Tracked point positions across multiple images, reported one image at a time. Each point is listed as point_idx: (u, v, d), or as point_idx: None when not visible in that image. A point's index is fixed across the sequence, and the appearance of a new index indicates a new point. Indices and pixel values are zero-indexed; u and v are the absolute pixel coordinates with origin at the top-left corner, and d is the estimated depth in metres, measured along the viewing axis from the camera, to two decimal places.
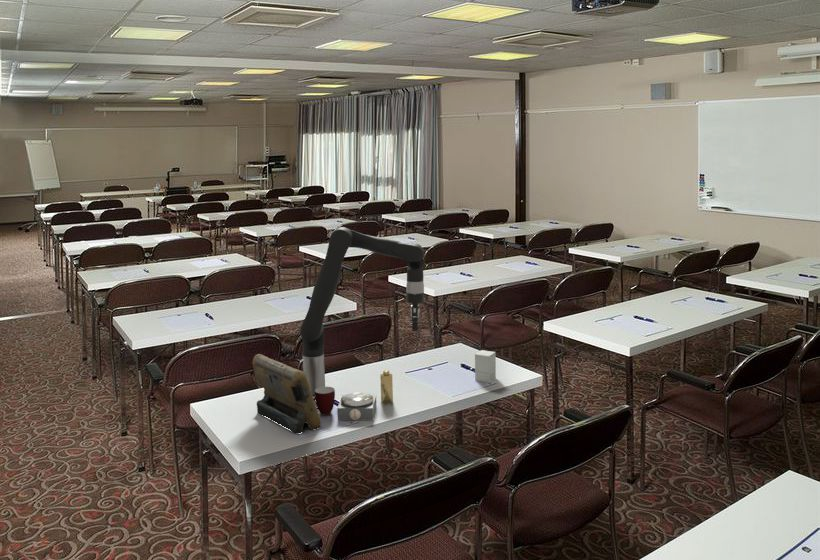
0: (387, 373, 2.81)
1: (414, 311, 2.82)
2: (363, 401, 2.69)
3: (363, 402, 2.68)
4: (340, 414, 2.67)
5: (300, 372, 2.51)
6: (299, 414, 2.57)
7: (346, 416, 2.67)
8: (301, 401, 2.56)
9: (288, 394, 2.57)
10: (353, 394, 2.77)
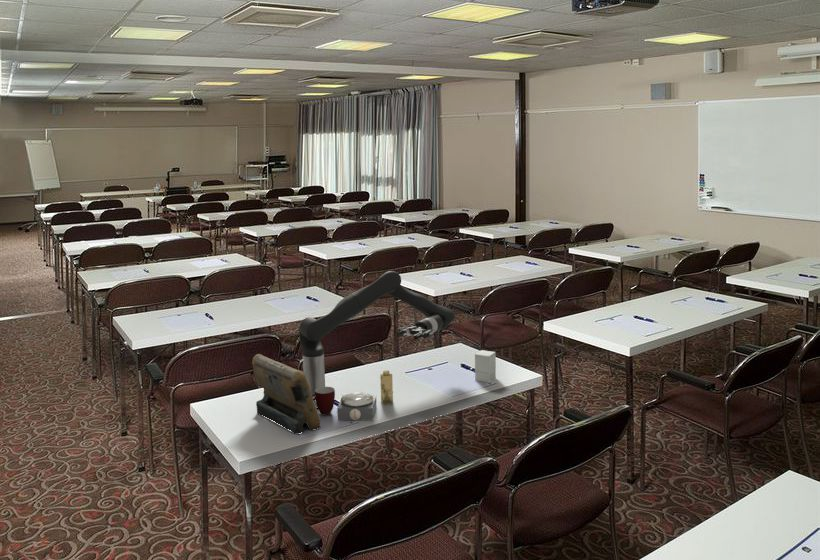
0: (387, 373, 2.81)
1: (430, 333, 2.92)
2: (363, 401, 2.69)
3: (363, 402, 2.68)
4: (340, 414, 2.67)
5: (300, 372, 2.51)
6: (299, 414, 2.57)
7: (346, 416, 2.67)
8: (300, 401, 2.56)
9: (288, 394, 2.57)
10: (353, 394, 2.77)
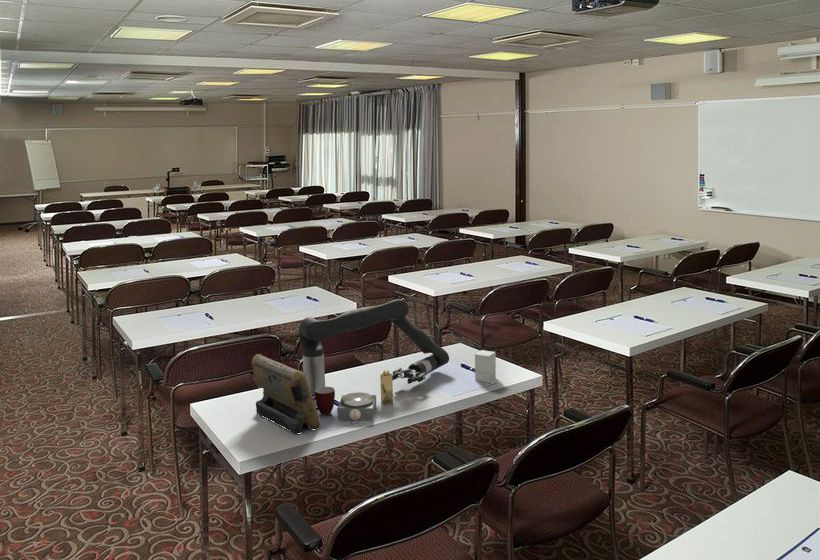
0: (387, 373, 2.81)
1: (424, 376, 2.96)
2: (363, 401, 2.69)
3: (363, 402, 2.68)
4: (340, 414, 2.67)
5: (299, 372, 2.51)
6: (298, 414, 2.57)
7: (346, 416, 2.67)
8: (300, 401, 2.56)
9: (287, 394, 2.57)
10: (353, 394, 2.77)
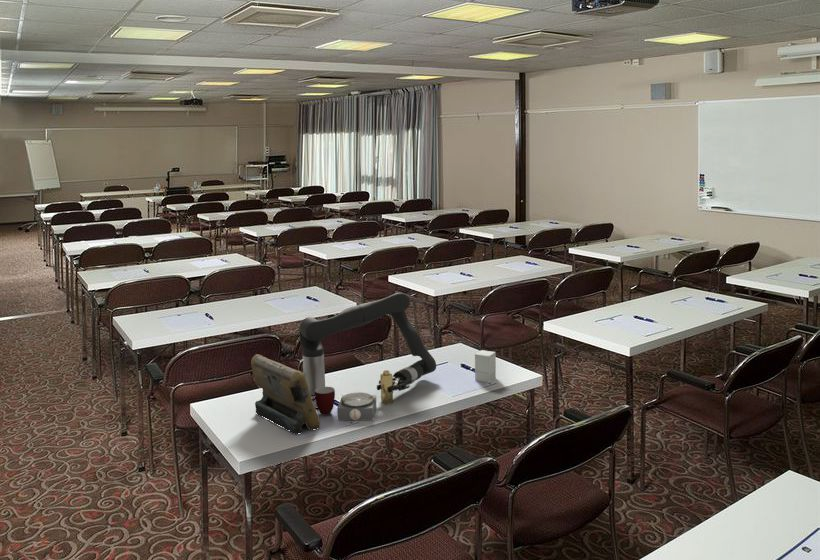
0: (387, 373, 2.81)
1: (407, 385, 2.85)
2: (363, 401, 2.69)
3: (363, 402, 2.68)
4: (340, 414, 2.67)
5: (299, 372, 2.51)
6: (298, 414, 2.57)
7: (346, 416, 2.67)
8: (300, 402, 2.55)
9: (287, 394, 2.57)
10: (353, 394, 2.77)
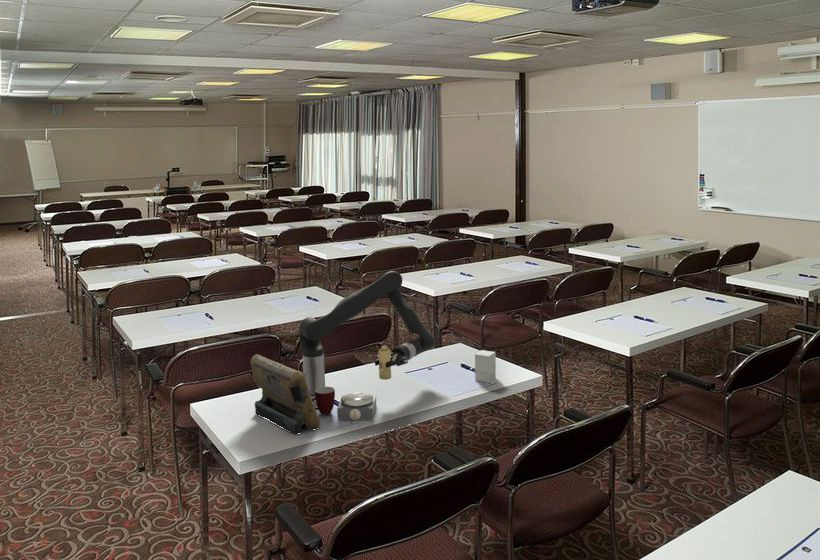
0: (385, 348, 2.79)
1: (405, 360, 2.83)
2: (363, 401, 2.69)
3: (363, 402, 2.68)
4: (340, 414, 2.67)
5: (298, 372, 2.51)
6: (297, 415, 2.57)
7: (346, 416, 2.67)
8: (299, 402, 2.55)
9: (286, 395, 2.57)
10: (353, 394, 2.77)
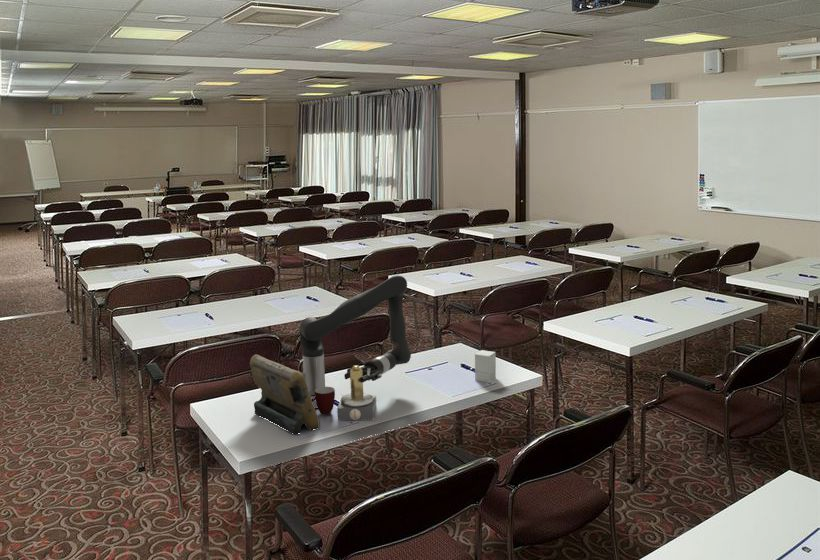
0: (357, 368, 2.69)
1: (379, 374, 2.73)
2: (363, 401, 2.69)
3: (363, 402, 2.68)
4: (340, 414, 2.67)
5: (298, 373, 2.51)
6: (297, 415, 2.57)
7: (346, 416, 2.67)
8: (299, 402, 2.55)
9: (286, 395, 2.57)
10: None
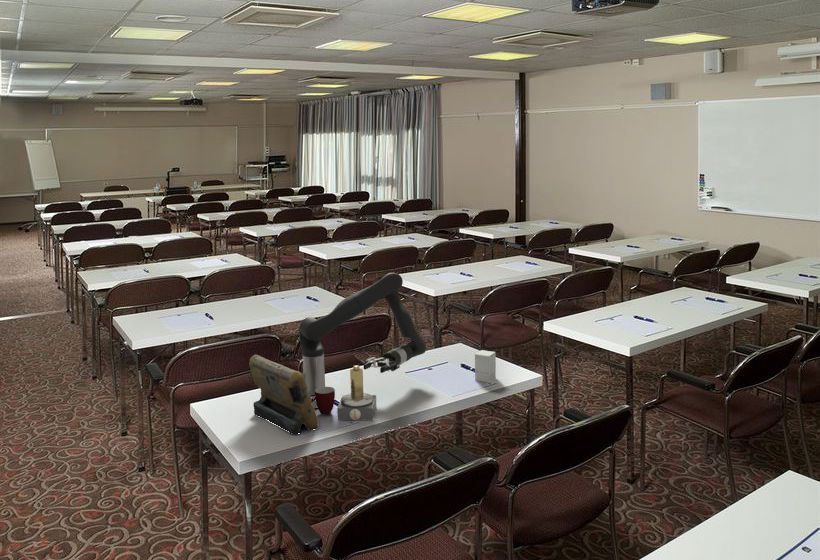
0: (357, 368, 2.69)
1: (398, 365, 2.84)
2: (363, 401, 2.69)
3: (363, 402, 2.68)
4: (340, 414, 2.67)
5: (297, 373, 2.50)
6: (296, 415, 2.56)
7: (346, 416, 2.67)
8: (298, 402, 2.55)
9: (285, 395, 2.57)
10: None
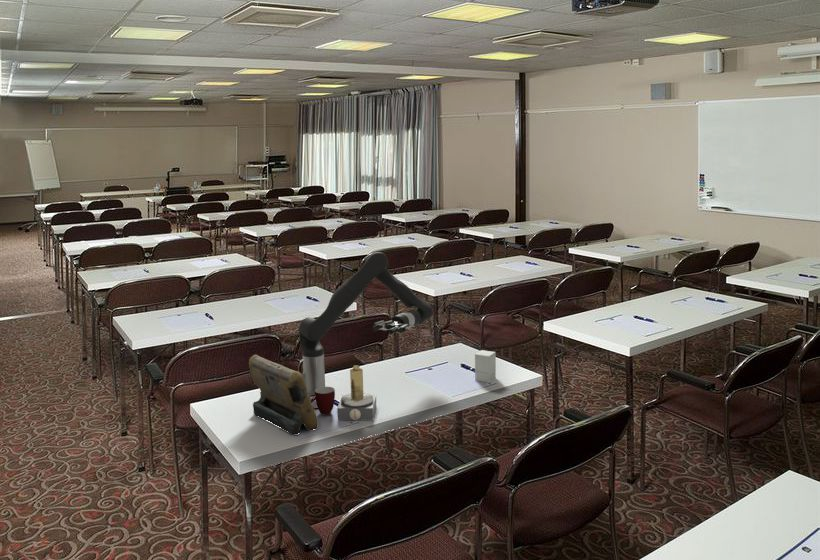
0: (357, 368, 2.69)
1: (406, 327, 2.87)
2: (363, 401, 2.69)
3: (363, 402, 2.68)
4: (340, 414, 2.67)
5: (297, 373, 2.50)
6: (296, 415, 2.56)
7: (346, 416, 2.67)
8: (298, 402, 2.55)
9: (285, 395, 2.56)
10: None
